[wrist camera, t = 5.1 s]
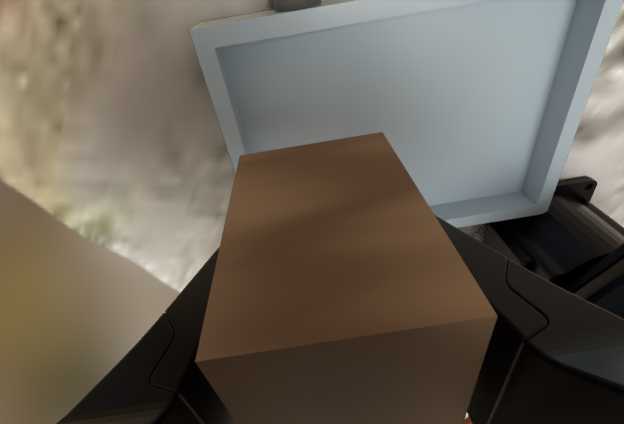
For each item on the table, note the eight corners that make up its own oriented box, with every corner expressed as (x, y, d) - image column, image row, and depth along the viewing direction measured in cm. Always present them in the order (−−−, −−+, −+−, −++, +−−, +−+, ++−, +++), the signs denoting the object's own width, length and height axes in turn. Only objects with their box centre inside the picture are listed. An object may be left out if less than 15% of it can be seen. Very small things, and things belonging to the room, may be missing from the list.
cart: (606, -77, 14) (654, -84, 12) (521, 205, 23) (542, 225, 21) (191, -4, 14) (179, 0, 13) (267, 246, 23) (266, 269, 22)
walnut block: (382, 132, 9) (498, 315, 4) (383, 239, 11) (458, 435, 7) (239, 155, 9) (194, 361, 4) (270, 257, 12) (263, 463, 7)
